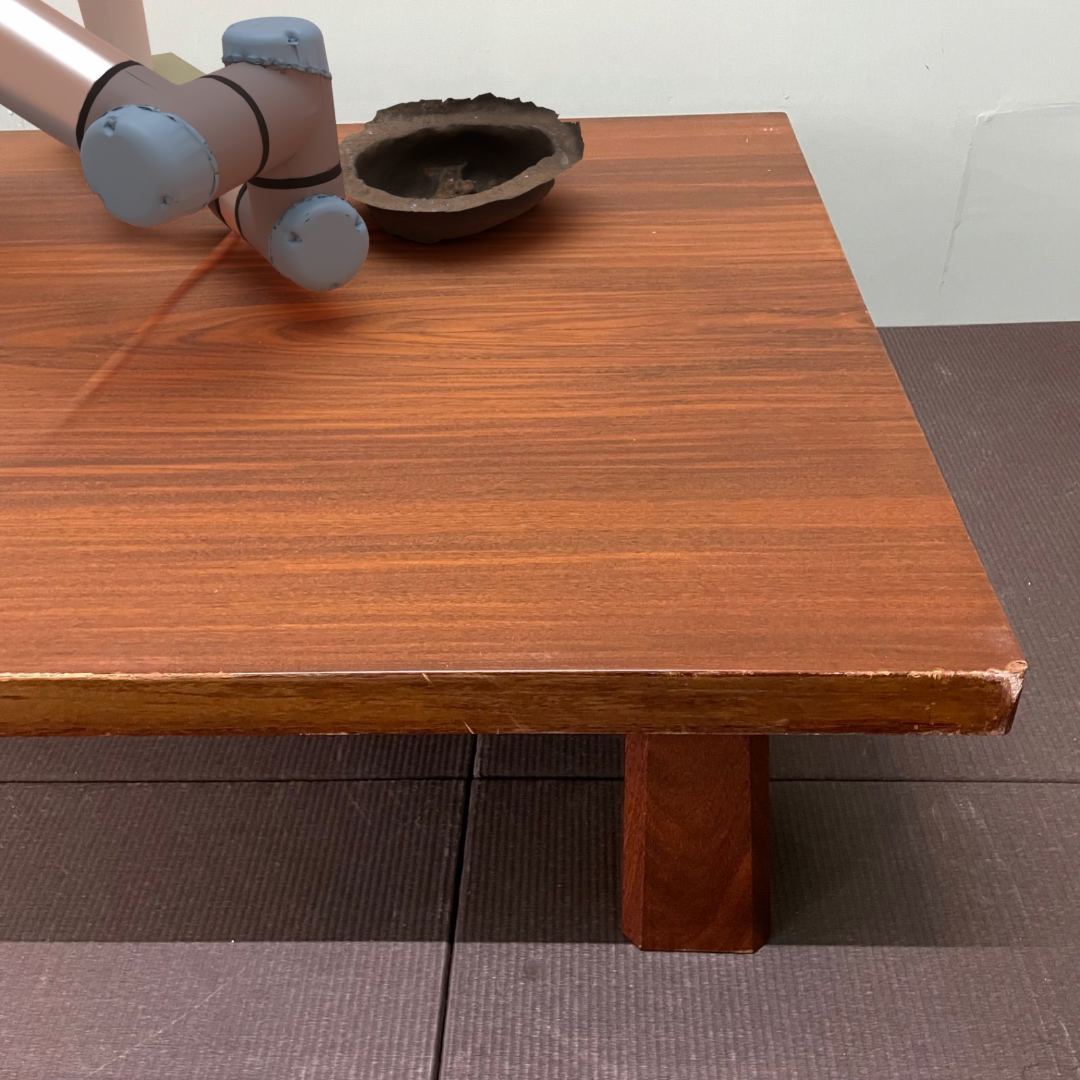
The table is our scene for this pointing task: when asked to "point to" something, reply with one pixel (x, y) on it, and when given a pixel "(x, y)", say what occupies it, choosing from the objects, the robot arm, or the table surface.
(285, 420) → the table surface
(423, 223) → the stone bowl
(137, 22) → the drinking glass
